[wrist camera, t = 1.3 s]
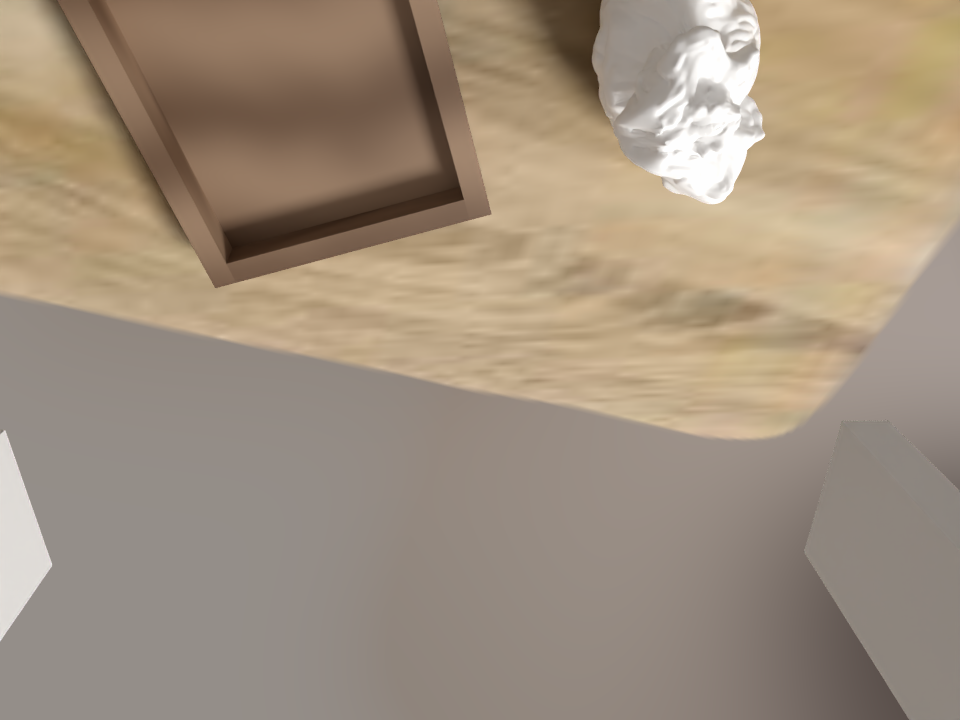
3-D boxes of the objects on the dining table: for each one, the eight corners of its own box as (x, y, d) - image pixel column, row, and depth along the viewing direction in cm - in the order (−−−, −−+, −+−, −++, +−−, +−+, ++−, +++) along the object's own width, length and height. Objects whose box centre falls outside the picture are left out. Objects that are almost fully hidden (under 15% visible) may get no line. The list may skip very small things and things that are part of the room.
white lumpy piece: (614, -120, 29) (469, -27, 22) (817, -176, 24) (711, -80, 18) (657, 154, 36) (557, 286, 29) (821, 149, 32) (745, 302, 25)
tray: (71, -33, 27) (45, -22, 25) (403, -134, 26) (404, -131, 24) (225, 261, 35) (215, 288, 33) (485, 191, 34) (491, 214, 32)
